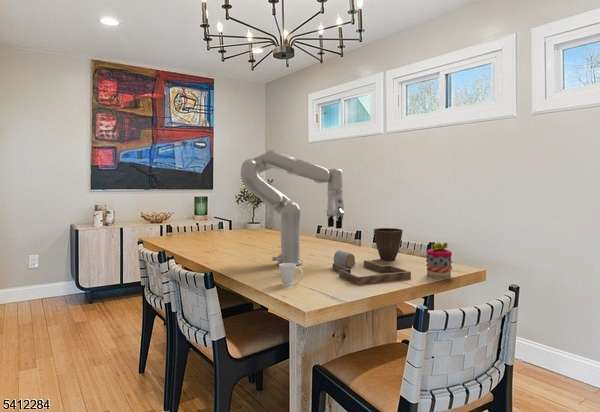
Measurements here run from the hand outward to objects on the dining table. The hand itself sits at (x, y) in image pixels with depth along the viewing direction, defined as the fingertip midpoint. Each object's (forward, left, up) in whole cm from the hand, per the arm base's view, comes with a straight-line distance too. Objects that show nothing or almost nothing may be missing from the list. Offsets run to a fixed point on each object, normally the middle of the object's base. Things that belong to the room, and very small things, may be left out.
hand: (334, 227), depth 201 cm
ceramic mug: (0, -11, -18) cm, 21 cm away
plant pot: (+29, -5, -18) cm, 35 cm away
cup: (-37, -33, -18) cm, 53 cm away
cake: (+28, -44, -18) cm, 55 cm away
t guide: (0, -29, -18) cm, 34 cm away
